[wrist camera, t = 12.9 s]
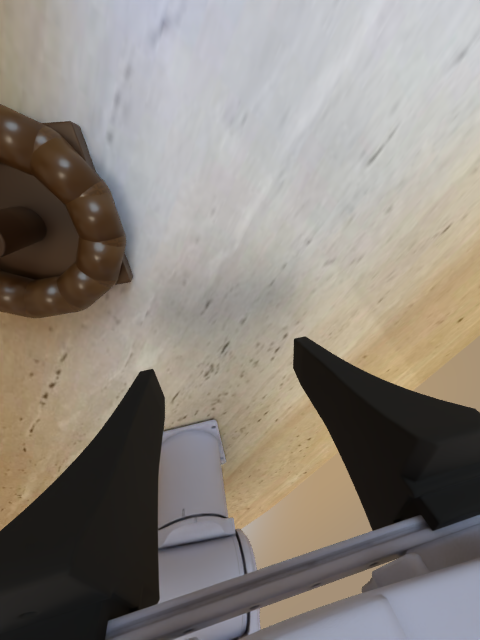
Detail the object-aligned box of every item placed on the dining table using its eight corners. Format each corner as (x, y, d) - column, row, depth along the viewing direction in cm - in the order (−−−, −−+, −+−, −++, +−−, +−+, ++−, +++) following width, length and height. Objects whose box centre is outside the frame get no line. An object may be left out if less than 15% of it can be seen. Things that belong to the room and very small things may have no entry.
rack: (133, 276, 18) (117, 307, 13) (3, 297, 17) (-60, 339, 12) (79, 125, 13) (28, 97, 9) (-108, 140, 12) (-275, 116, 8)
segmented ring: (148, 291, 17) (143, 305, 15) (-13, 318, 16) (-41, 338, 14) (83, 95, 12) (62, 77, 10) (-176, 112, 10) (-262, 95, 8)
